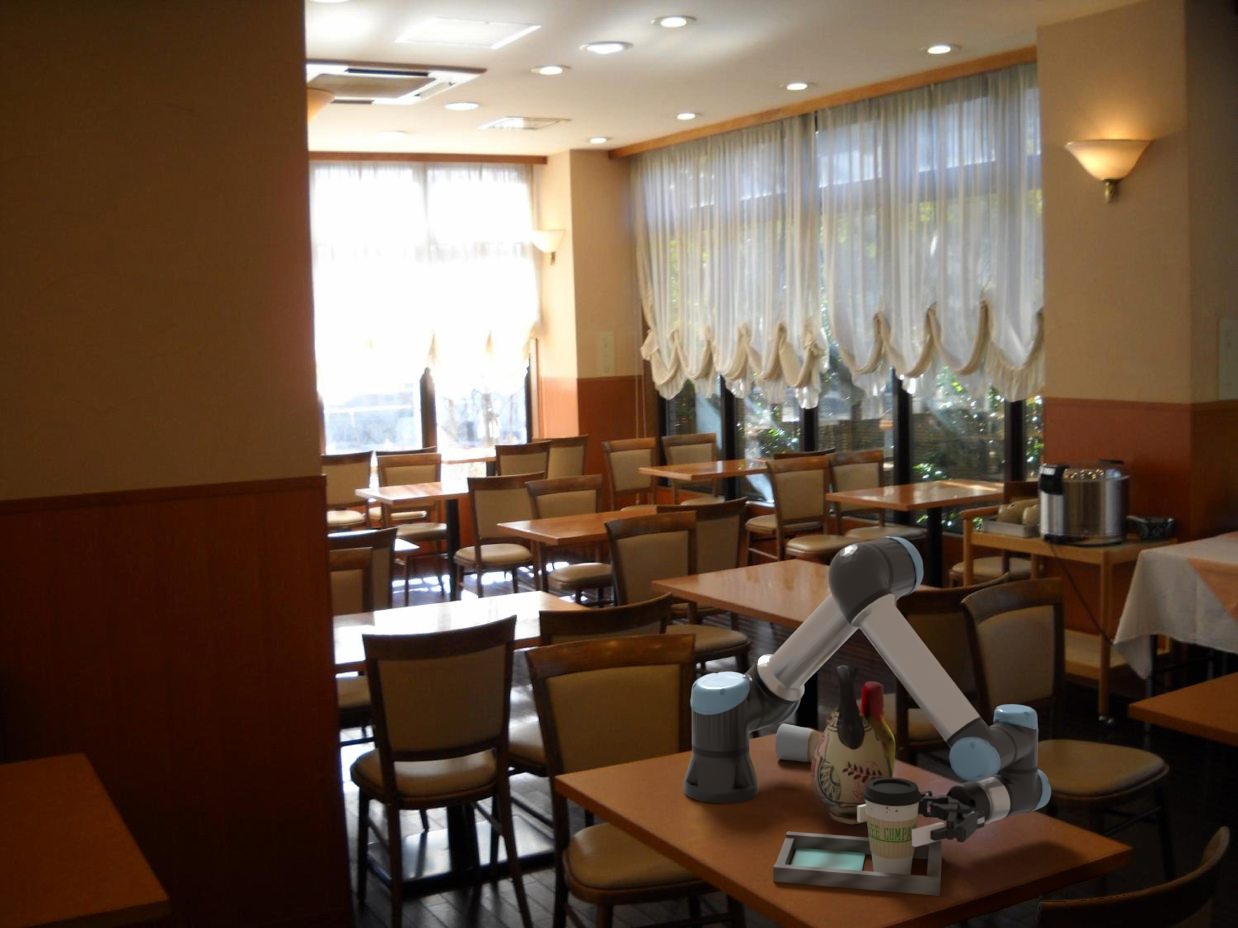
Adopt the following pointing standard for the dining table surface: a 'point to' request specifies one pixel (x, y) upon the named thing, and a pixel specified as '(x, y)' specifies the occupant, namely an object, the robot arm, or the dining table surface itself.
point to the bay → (850, 864)
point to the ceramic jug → (847, 755)
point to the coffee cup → (891, 822)
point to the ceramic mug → (795, 743)
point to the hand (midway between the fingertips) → (885, 825)
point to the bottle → (877, 716)
